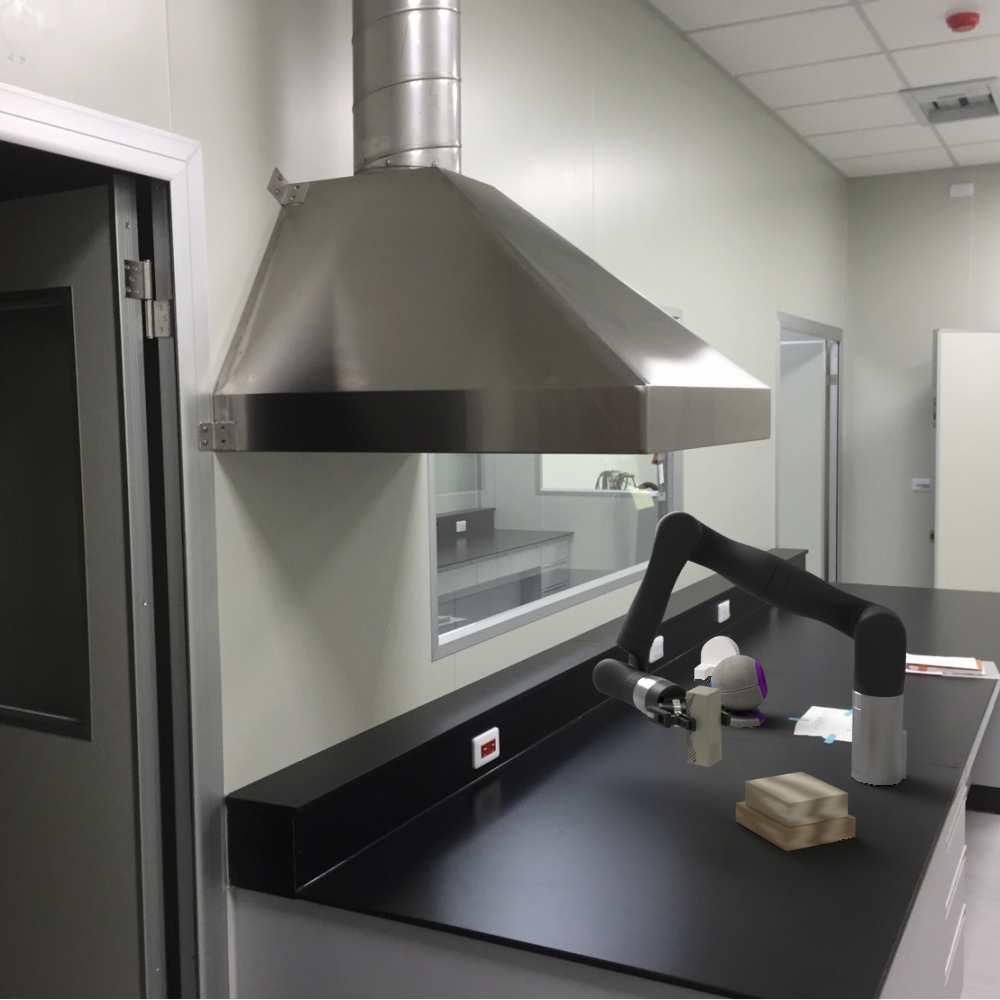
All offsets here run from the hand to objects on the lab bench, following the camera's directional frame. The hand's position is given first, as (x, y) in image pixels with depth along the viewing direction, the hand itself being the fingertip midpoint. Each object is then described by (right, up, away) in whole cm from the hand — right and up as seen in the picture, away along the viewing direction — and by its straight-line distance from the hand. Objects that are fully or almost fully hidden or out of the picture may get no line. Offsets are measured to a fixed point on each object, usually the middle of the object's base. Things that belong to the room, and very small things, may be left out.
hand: (711, 723), depth 182 cm
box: (-1, -8, +3) cm, 8 cm away
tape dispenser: (+23, -10, +104) cm, 107 cm away
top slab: (+14, -15, -1) cm, 20 cm away
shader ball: (+19, -13, +63) cm, 67 cm away
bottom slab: (+14, -19, -1) cm, 23 cm away
